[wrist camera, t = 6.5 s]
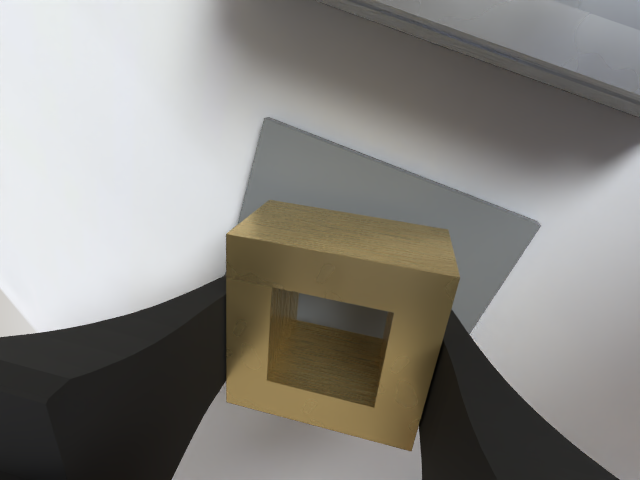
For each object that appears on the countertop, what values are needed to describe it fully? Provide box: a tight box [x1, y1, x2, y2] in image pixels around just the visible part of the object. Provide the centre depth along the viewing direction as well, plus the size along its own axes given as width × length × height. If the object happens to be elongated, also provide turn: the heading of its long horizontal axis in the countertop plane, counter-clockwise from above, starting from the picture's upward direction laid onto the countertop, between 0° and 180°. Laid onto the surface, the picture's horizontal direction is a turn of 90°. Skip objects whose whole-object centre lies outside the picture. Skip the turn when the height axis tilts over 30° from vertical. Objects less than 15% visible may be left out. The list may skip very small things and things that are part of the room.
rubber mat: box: [225, 117, 541, 339], centre depth 14 cm, size 9×9×1 cm
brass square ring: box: [226, 200, 460, 451], centre depth 11 cm, size 5×5×3 cm
